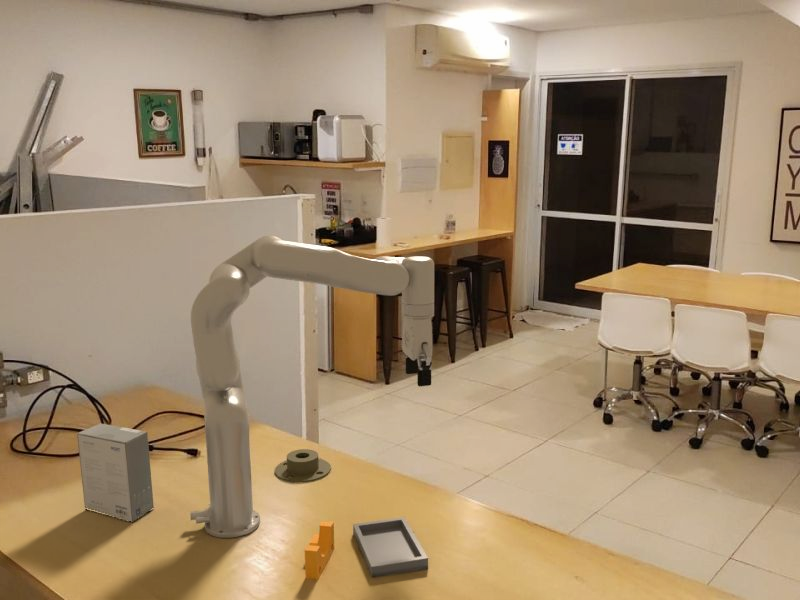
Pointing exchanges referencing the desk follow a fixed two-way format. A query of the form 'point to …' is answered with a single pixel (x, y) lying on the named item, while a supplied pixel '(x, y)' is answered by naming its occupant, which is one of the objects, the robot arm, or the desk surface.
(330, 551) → the orange blocky piece
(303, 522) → the desk surface
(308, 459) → the flange
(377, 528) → the parts tray
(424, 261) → the robot arm
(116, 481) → the hard drive box
